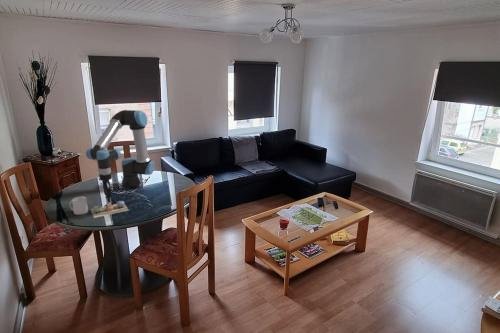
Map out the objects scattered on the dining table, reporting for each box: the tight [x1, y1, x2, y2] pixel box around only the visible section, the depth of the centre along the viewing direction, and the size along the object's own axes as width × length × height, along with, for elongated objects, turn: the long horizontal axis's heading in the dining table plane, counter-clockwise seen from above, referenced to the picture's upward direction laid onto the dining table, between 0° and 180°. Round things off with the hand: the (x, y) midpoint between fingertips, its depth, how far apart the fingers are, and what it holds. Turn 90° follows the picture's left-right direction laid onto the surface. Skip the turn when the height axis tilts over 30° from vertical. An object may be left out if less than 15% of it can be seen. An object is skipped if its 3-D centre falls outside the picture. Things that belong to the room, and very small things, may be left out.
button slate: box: [116, 200, 126, 209], centre depth 217 cm, size 5×5×4 cm
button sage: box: [92, 204, 102, 214], centre depth 209 cm, size 5×5×4 cm
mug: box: [69, 195, 89, 216], centre depth 208 cm, size 9×12×11 cm
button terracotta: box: [106, 204, 114, 211], centre depth 213 cm, size 5×5×4 cm
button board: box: [90, 203, 130, 219], centre depth 213 cm, size 15×22×1 cm
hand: (109, 205), depth 212 cm, fingers closed
